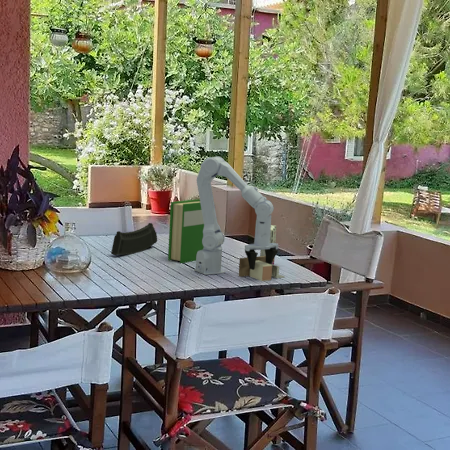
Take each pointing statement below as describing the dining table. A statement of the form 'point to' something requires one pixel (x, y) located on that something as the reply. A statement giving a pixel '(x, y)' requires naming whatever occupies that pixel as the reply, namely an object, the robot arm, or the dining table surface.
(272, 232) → the candy bar box
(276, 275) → the bookend
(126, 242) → the magazine
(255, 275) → the boxed book
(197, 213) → the hardback book
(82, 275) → the dining table surface
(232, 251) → the dining table surface
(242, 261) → the shelf wall
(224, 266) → the dining table surface
